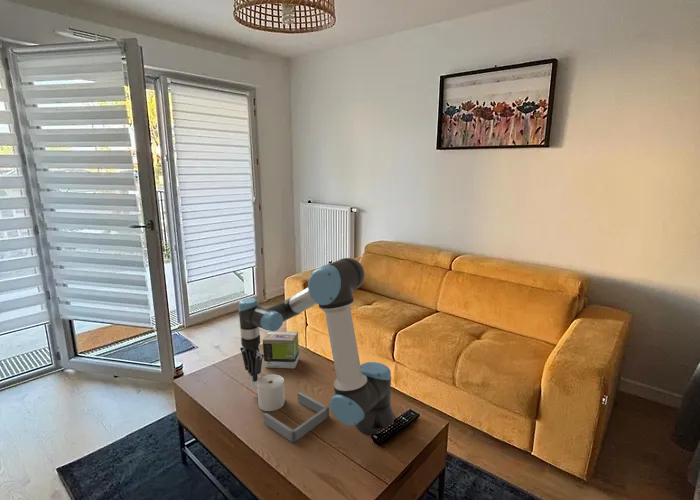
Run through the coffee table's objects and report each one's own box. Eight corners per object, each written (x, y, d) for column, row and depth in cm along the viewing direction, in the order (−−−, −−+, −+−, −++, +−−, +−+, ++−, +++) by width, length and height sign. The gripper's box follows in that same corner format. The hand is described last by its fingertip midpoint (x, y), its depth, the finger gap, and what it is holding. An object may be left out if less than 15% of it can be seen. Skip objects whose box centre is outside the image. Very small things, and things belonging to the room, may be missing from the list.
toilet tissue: (278, 413, 152) (277, 390, 149) (250, 409, 154) (248, 386, 152) (288, 397, 162) (287, 375, 159) (262, 393, 165) (260, 372, 162)
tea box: (299, 358, 193) (298, 331, 189) (294, 369, 183) (293, 340, 180) (270, 357, 194) (268, 330, 191) (263, 368, 185) (262, 339, 181)
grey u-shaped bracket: (329, 416, 150) (328, 407, 149) (293, 443, 136) (292, 433, 135) (300, 400, 160) (299, 391, 159) (264, 423, 146) (263, 414, 145)
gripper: (267, 337, 157) (271, 388, 162) (248, 328, 165) (252, 377, 170) (252, 343, 151) (256, 397, 157) (233, 334, 159) (237, 385, 165)
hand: (254, 386), depth 164 cm, fingers closed
